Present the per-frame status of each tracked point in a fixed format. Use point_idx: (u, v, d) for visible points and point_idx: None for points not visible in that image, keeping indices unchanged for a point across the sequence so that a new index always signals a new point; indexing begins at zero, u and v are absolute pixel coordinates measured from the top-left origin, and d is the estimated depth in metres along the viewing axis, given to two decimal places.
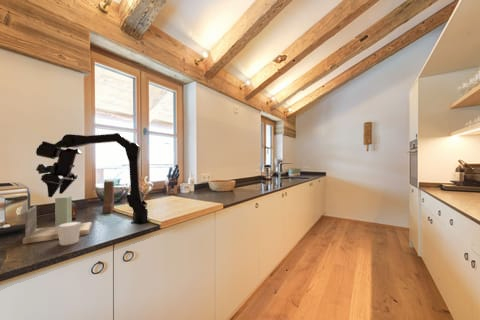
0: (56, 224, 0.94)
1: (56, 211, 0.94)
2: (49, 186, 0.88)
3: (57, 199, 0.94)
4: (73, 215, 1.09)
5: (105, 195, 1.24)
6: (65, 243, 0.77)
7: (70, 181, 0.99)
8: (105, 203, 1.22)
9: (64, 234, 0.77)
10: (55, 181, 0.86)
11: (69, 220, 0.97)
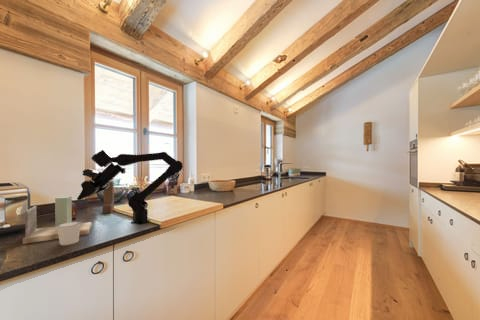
0: (56, 224, 0.94)
1: (56, 211, 0.94)
2: (83, 191, 0.93)
3: (57, 199, 0.94)
4: (73, 215, 1.09)
5: (105, 195, 1.24)
6: (65, 243, 0.77)
7: (101, 189, 1.05)
8: (105, 203, 1.22)
9: (64, 234, 0.77)
10: (90, 191, 0.91)
11: (69, 220, 0.97)
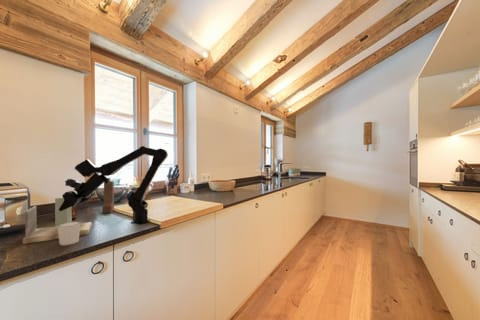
0: (56, 224, 0.94)
1: (56, 211, 0.94)
2: (65, 202, 0.92)
3: (57, 199, 0.94)
4: (73, 215, 1.09)
5: (105, 195, 1.24)
6: (65, 243, 0.77)
7: (85, 199, 1.03)
8: (105, 203, 1.22)
9: (64, 234, 0.77)
10: (72, 202, 0.89)
11: (69, 220, 0.97)
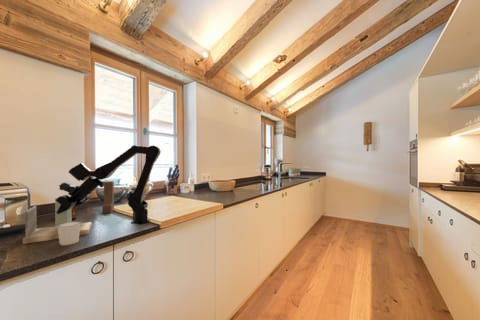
0: (56, 224, 0.94)
1: (56, 211, 0.94)
2: None
3: None
4: (73, 215, 1.09)
5: (105, 195, 1.24)
6: (65, 243, 0.77)
7: (78, 204, 1.00)
8: (105, 203, 1.22)
9: (64, 234, 0.77)
10: (66, 207, 0.89)
11: (69, 220, 0.97)
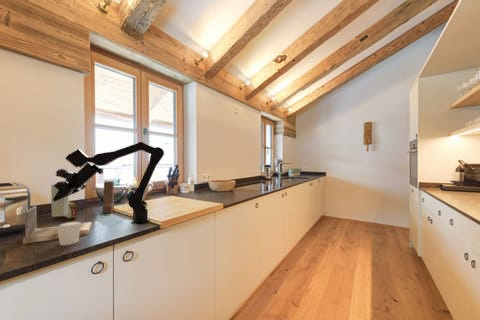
0: (52, 212, 0.92)
1: (52, 198, 0.92)
2: (59, 192, 0.91)
3: (53, 186, 0.92)
4: (73, 215, 1.09)
5: (105, 195, 1.24)
6: (65, 243, 0.77)
7: (74, 191, 0.98)
8: (105, 203, 1.22)
9: (64, 234, 0.77)
10: (65, 193, 0.87)
11: (66, 208, 0.95)
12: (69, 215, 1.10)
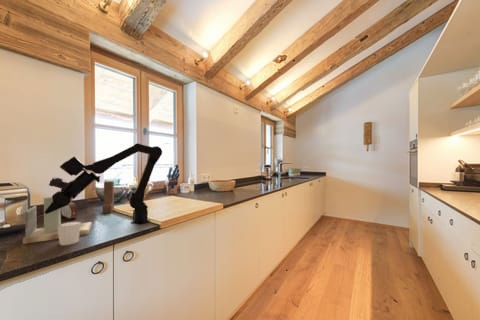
0: (45, 227, 0.85)
1: None
2: (53, 203, 0.84)
3: (46, 199, 0.85)
4: (73, 215, 1.09)
5: (105, 195, 1.24)
6: (65, 243, 0.77)
7: None
8: (105, 203, 1.22)
9: (64, 234, 0.77)
10: (64, 203, 0.82)
11: (59, 221, 0.89)
12: (69, 215, 1.10)
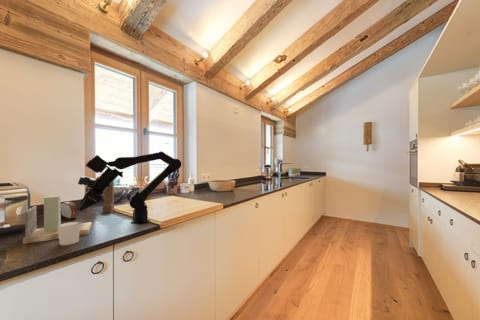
0: (45, 227, 0.85)
1: (45, 212, 0.85)
2: (86, 201, 0.89)
3: (46, 199, 0.85)
4: (73, 215, 1.09)
5: (105, 195, 1.24)
6: (65, 243, 0.77)
7: None
8: (105, 203, 1.22)
9: (64, 234, 0.77)
10: (98, 200, 0.89)
11: (59, 221, 0.89)
12: (69, 215, 1.10)
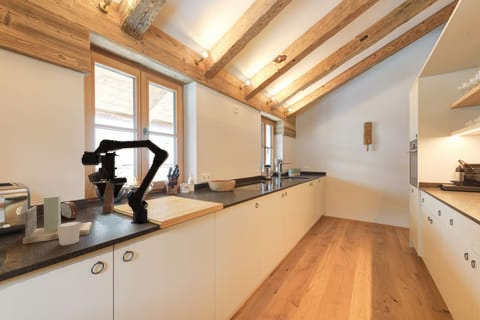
0: (45, 227, 0.85)
1: (45, 212, 0.85)
2: (115, 188, 0.98)
3: (46, 199, 0.85)
4: (73, 215, 1.09)
5: (105, 195, 1.24)
6: (65, 243, 0.77)
7: (105, 183, 1.05)
8: (105, 203, 1.22)
9: (64, 234, 0.77)
10: (126, 181, 1.00)
11: (59, 221, 0.89)
12: (69, 215, 1.10)
